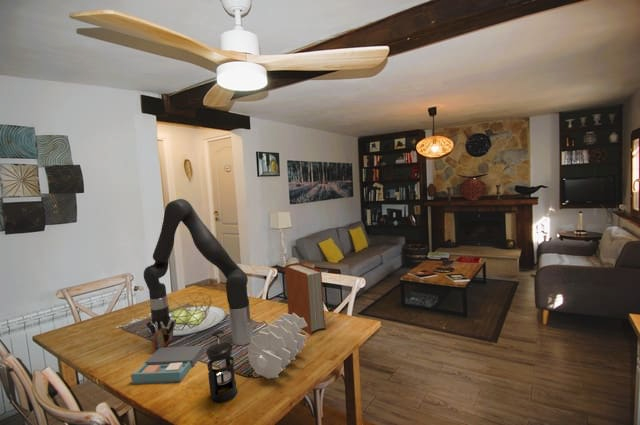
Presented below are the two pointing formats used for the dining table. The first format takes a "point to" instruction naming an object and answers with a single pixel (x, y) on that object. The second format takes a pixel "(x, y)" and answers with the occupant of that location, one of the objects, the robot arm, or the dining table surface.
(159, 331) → the tin
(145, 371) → the terracotta tile
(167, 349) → the grey stone slab
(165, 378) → the tray
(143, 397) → the dining table surface
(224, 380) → the french press
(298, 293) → the book
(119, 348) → the dining table surface
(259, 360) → the grey pine cone
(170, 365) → the cream tile
